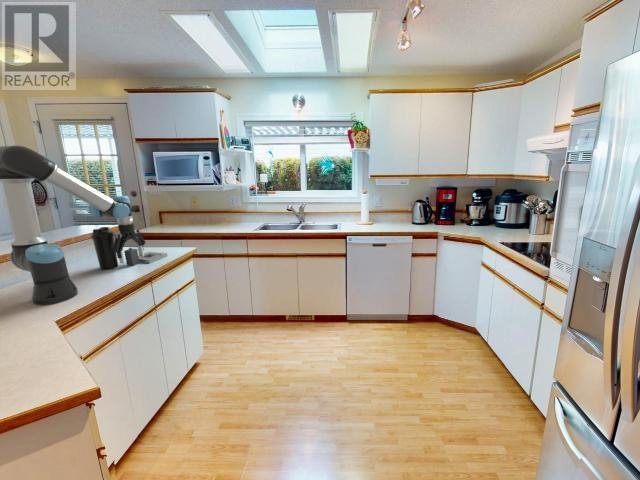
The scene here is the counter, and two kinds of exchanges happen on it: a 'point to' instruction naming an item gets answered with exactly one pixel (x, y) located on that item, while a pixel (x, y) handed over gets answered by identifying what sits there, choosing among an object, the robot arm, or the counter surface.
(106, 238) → the water bottle
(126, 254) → the plug
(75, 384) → the counter surface
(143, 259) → the socket
